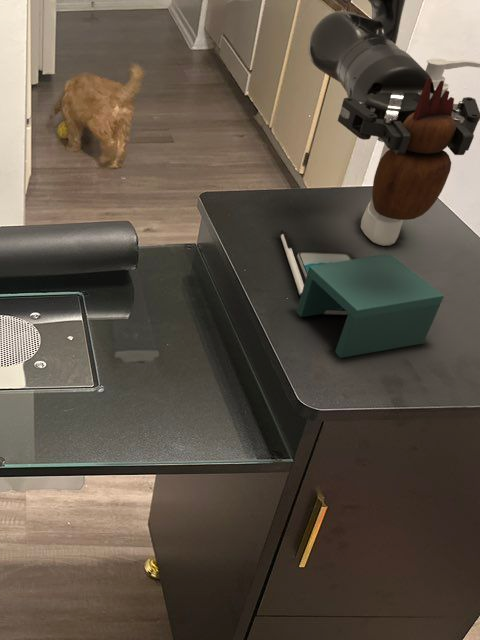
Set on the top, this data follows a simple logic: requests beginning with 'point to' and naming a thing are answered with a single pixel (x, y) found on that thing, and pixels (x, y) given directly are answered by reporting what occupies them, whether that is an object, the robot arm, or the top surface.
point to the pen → (292, 262)
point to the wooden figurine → (417, 160)
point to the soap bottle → (372, 222)
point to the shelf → (372, 303)
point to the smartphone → (317, 259)
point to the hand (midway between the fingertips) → (434, 145)
